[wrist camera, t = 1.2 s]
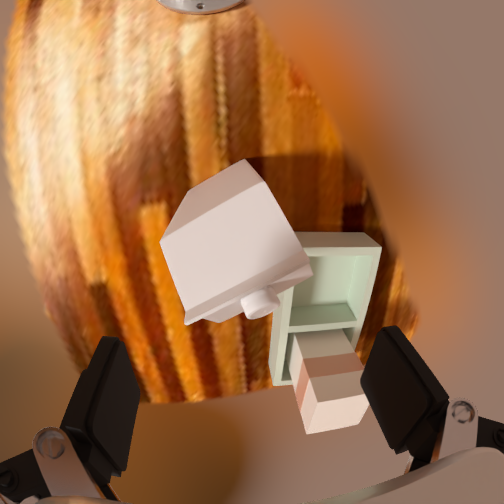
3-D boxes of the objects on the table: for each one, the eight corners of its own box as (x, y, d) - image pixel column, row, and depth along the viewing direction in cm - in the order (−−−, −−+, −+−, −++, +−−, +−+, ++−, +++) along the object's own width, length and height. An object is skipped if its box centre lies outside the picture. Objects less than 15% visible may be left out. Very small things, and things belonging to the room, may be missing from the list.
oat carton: (289, 320, 37) (317, 402, 25) (336, 316, 38) (376, 391, 25) (284, 355, 40) (305, 434, 27) (327, 351, 41) (358, 424, 28)
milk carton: (187, 190, 30) (142, 272, 13) (244, 157, 29) (277, 195, 12) (220, 242, 33) (221, 365, 16) (275, 212, 32) (334, 311, 15)
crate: (279, 231, 33) (288, 247, 29) (364, 232, 34) (382, 247, 30) (268, 362, 41) (273, 386, 37) (335, 356, 42) (345, 377, 38)
